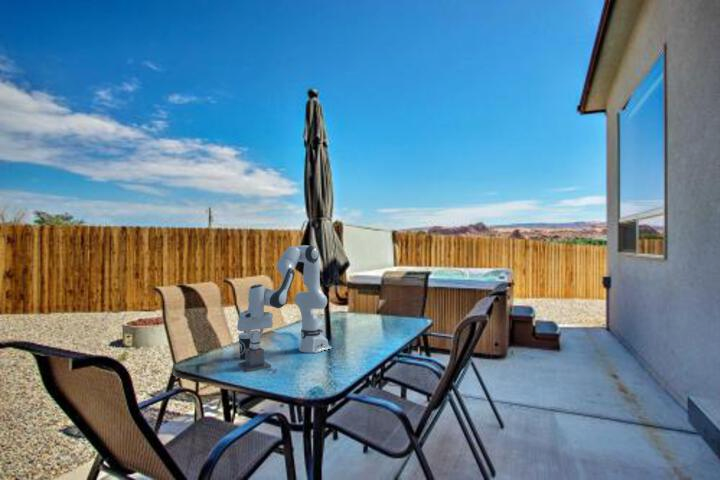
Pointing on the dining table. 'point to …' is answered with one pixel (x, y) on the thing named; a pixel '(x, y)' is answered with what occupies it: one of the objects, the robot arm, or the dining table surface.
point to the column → (255, 340)
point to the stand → (254, 360)
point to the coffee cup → (243, 343)
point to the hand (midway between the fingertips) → (255, 337)
